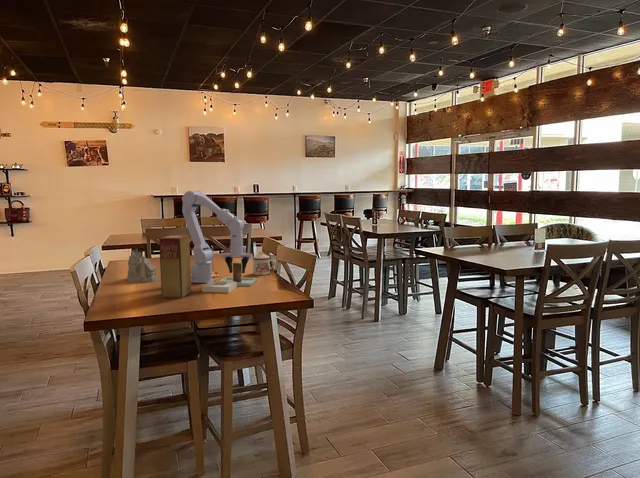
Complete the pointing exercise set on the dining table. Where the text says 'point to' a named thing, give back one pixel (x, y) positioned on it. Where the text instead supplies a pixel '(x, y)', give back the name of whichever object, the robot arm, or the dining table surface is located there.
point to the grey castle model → (140, 270)
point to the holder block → (219, 286)
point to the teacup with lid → (262, 264)
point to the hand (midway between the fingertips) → (237, 272)
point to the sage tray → (244, 281)
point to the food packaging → (175, 266)
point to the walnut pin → (237, 272)
